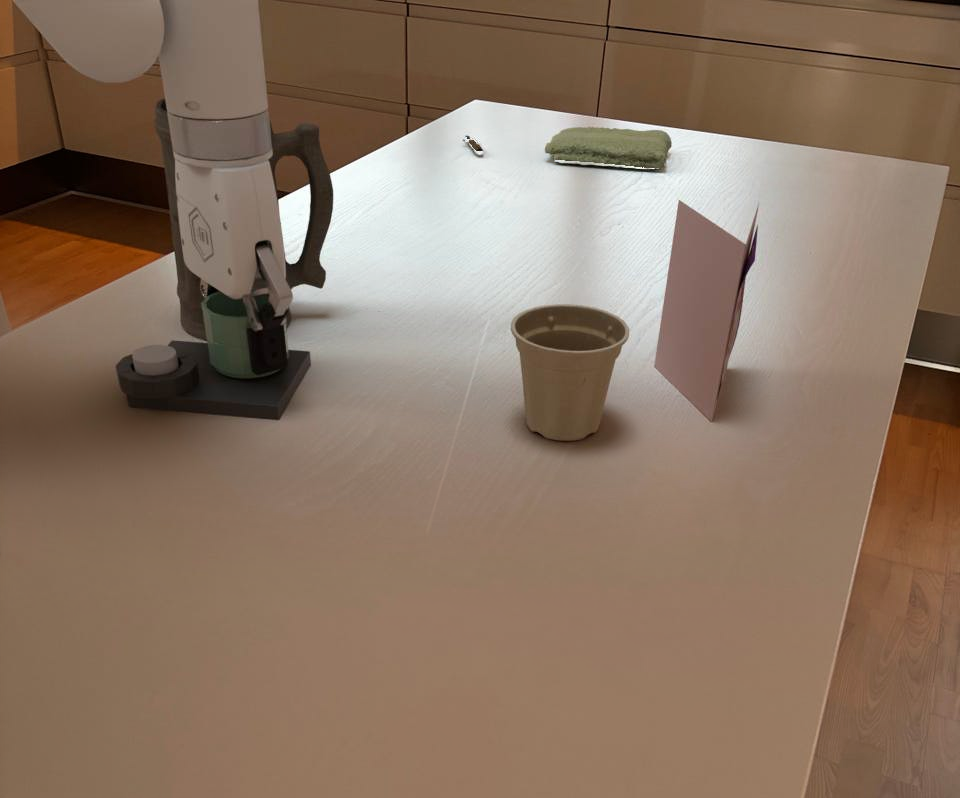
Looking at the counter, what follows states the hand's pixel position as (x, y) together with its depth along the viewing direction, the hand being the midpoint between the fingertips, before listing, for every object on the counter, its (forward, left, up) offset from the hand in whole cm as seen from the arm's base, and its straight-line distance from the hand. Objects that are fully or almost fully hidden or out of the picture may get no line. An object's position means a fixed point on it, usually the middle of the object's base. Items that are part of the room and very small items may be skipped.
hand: (248, 353), depth 90 cm
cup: (0, 0, -1) cm, 1 cm away
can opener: (+10, +81, -3) cm, 82 cm away
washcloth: (+30, +81, -3) cm, 87 cm away
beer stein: (-3, +13, -3) cm, 14 cm away
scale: (-2, -2, -3) cm, 4 cm away
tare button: (-7, -5, 0) cm, 8 cm away
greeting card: (+39, +5, -3) cm, 39 cm away
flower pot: (+28, -4, -3) cm, 28 cm away
